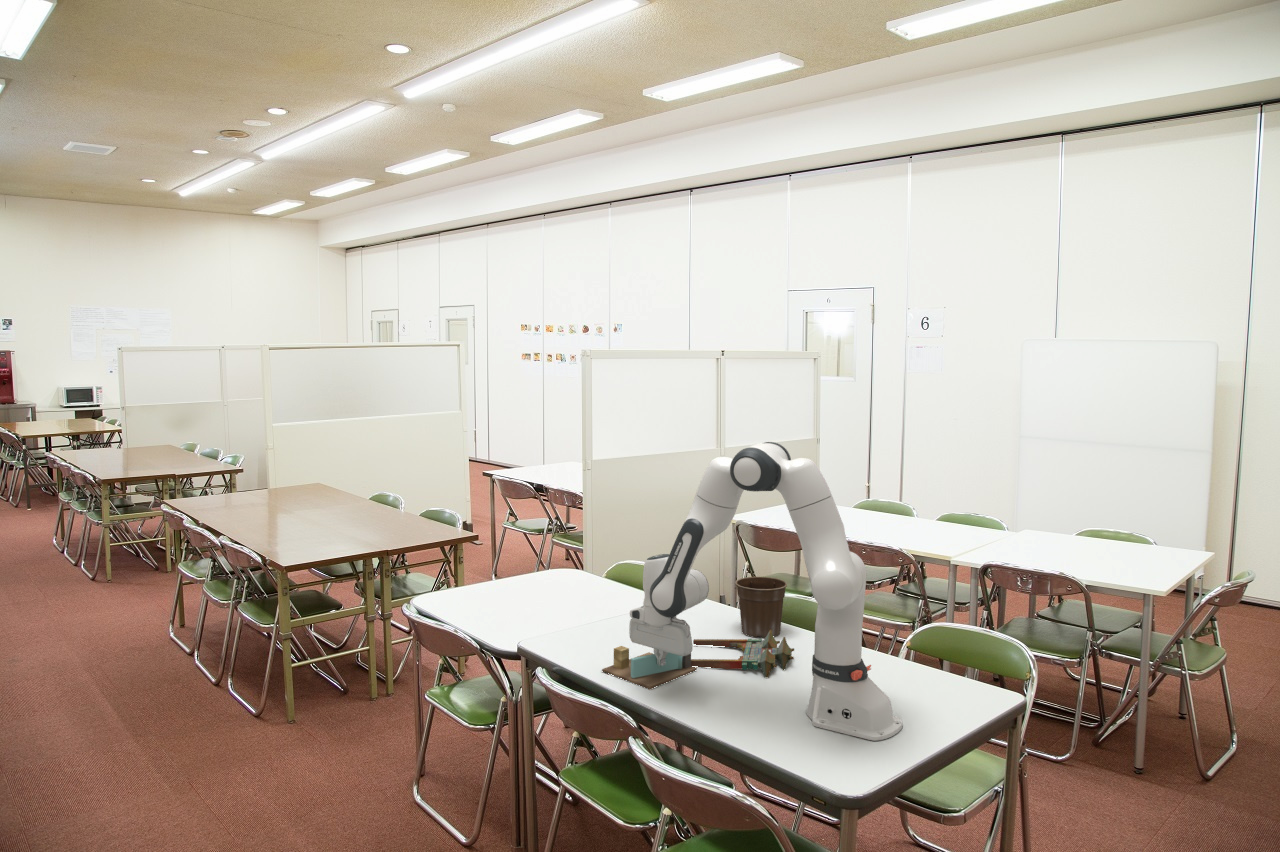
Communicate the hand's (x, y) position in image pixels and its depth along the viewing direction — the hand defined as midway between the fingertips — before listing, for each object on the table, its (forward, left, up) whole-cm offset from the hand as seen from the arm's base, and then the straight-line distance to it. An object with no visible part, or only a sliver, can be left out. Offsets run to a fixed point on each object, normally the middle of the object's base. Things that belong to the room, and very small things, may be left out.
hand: (660, 664), depth 225 cm
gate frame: (+6, -2, -4) cm, 7 cm away
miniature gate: (-7, -27, -4) cm, 28 cm away
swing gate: (+2, 0, -3) cm, 3 cm away
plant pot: (+4, -51, -4) cm, 51 cm away
